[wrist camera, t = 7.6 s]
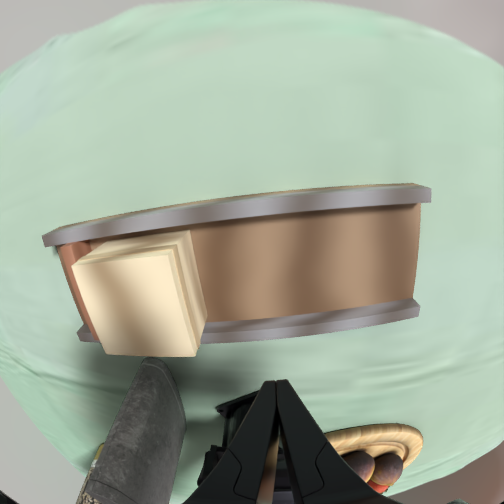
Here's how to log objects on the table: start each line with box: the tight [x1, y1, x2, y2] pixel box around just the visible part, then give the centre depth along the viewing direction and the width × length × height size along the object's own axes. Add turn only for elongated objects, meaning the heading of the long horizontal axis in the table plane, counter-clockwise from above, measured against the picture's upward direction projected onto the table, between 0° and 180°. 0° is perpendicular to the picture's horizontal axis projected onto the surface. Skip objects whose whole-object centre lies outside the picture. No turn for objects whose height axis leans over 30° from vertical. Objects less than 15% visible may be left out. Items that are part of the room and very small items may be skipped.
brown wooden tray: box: [42, 183, 431, 344], centre depth 20 cm, size 30×10×4 cm, turn 97°
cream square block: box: [71, 230, 208, 357], centre depth 18 cm, size 7×7×5 cm
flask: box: [85, 357, 186, 504], centre depth 19 cm, size 4×14×18 cm, turn 0°
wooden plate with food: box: [325, 424, 423, 494], centre depth 31 cm, size 32×32×8 cm
